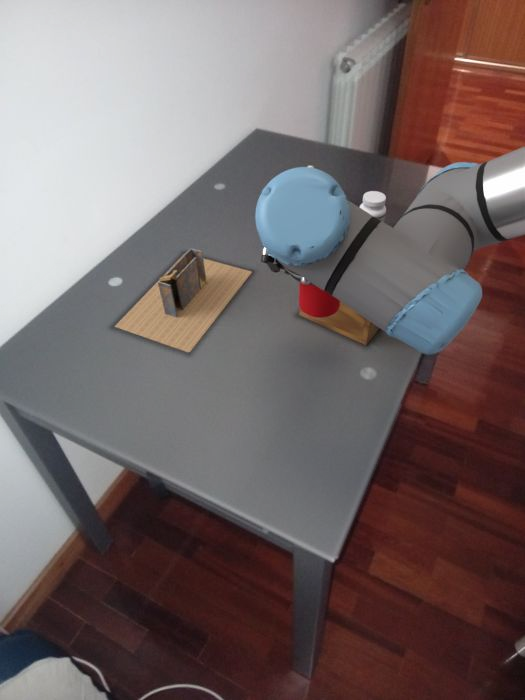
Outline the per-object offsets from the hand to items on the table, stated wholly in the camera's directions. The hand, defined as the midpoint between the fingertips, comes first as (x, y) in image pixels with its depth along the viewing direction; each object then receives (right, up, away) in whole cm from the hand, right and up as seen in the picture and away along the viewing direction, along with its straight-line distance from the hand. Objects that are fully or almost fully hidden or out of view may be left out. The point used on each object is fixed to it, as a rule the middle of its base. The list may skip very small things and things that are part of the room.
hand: (323, 274), depth 75 cm
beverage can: (-1, -5, 0) cm, 5 cm away
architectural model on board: (-24, -1, +21) cm, 32 cm away
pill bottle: (+14, +13, +34) cm, 39 cm away
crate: (+7, -4, +17) cm, 19 cm away
